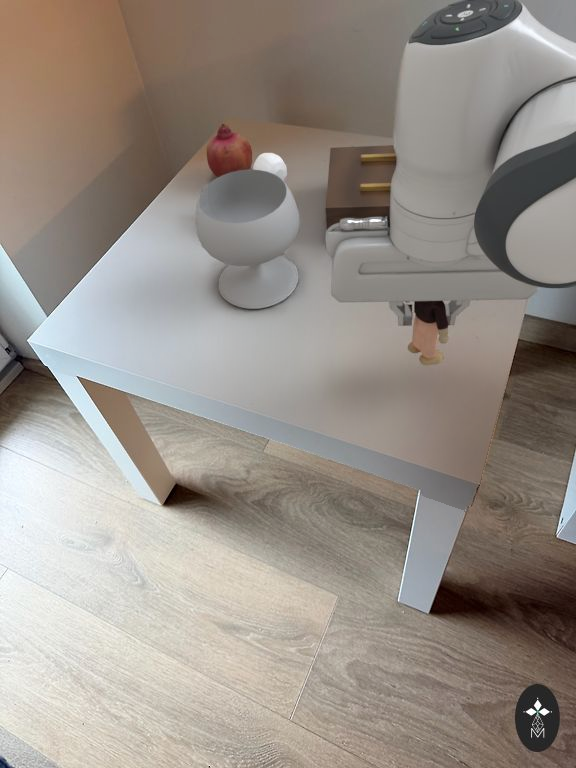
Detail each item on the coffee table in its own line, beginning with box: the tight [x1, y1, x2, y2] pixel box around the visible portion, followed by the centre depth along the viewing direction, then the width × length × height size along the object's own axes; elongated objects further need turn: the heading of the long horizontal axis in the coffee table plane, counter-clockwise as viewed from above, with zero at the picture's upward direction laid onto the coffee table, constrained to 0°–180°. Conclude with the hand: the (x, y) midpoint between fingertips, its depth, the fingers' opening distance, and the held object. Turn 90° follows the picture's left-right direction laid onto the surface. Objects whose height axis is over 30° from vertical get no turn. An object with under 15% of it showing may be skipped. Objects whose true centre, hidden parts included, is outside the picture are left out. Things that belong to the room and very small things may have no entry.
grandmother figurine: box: [403, 301, 450, 366], centre depth 58 cm, size 8×4×13 cm, turn 38°
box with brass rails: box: [325, 144, 397, 230], centre depth 85 cm, size 22×16×8 cm
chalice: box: [194, 169, 300, 310], centre depth 75 cm, size 14×14×15 cm
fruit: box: [206, 123, 253, 178], centre depth 94 cm, size 8×8×10 cm
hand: (425, 321), depth 59 cm, fingers closed on grandmother figurine, 3 cm apart
